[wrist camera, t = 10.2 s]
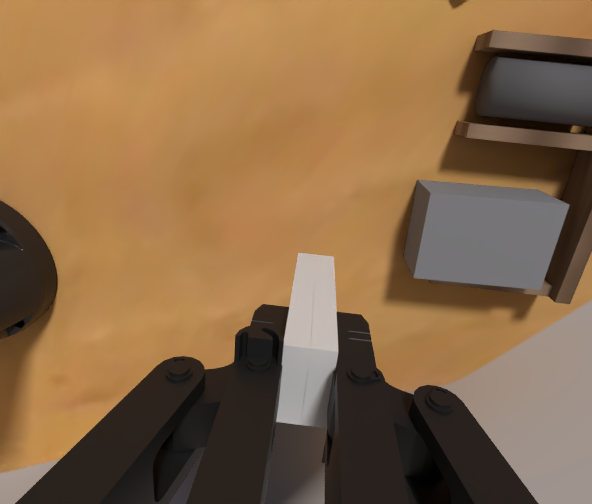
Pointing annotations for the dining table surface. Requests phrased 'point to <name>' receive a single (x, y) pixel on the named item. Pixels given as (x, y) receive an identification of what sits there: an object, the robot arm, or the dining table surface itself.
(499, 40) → the rack
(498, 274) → the plain gray cuboid
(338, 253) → the dining table surface
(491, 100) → the plain gray cylinder
